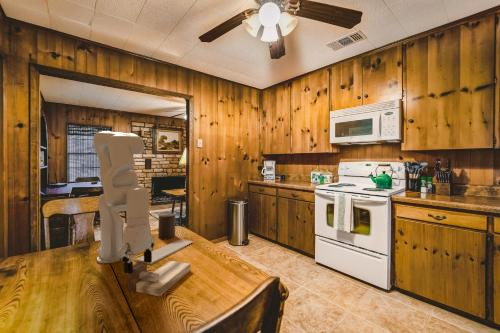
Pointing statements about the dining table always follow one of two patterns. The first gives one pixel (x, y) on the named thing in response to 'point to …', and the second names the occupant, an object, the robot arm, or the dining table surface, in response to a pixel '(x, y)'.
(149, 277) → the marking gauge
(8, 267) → the dining table surface
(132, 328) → the dining table surface
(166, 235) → the pillar candle
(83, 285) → the dining table surface
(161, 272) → the birch plank
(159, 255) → the baseboard
